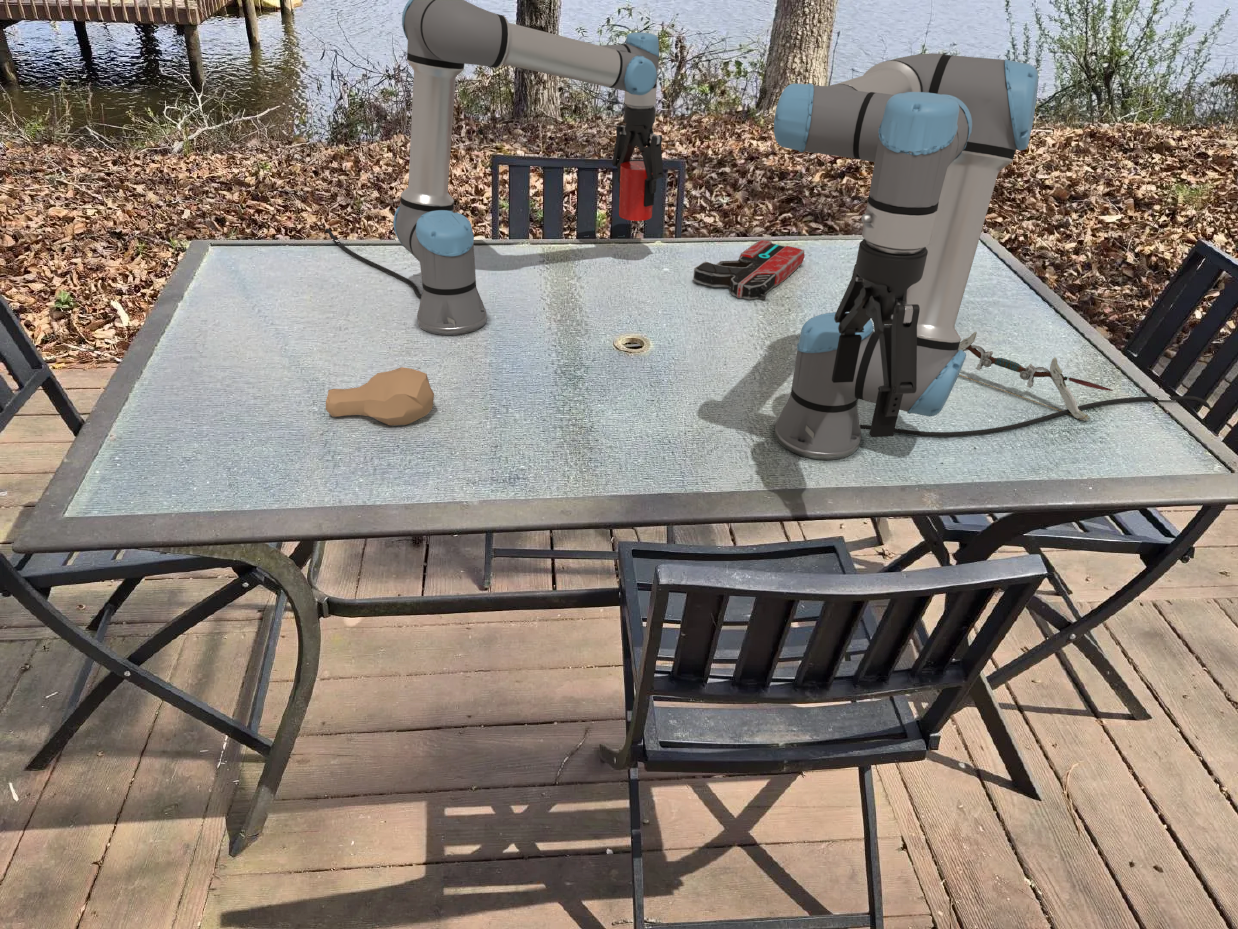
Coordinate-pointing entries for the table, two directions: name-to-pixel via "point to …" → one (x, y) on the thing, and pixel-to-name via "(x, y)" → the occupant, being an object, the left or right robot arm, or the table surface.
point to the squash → (386, 397)
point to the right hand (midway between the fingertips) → (860, 406)
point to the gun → (752, 270)
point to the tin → (633, 192)
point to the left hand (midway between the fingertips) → (636, 200)
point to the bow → (1031, 375)
